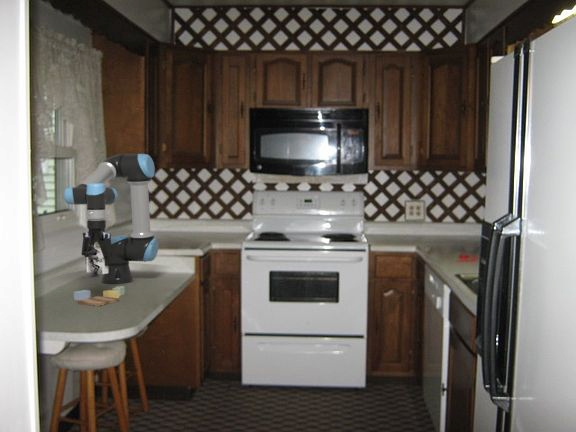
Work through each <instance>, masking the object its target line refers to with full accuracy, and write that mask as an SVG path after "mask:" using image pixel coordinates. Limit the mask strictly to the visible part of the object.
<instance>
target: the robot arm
mask: <svg viewBox="0 0 576 432" xmlns="http://www.w3.org/2000/svg"><path fill="white" fill-rule="evenodd" d="M97 165H98V166H97V168H96V169H95V170H94V171H93V172H92V173H91V174H89V175H88V176H87V177H86V178H85V179H84V180H82V181H81V182H80V183H79V184H77V186H71V187H66V188H65V190H64V193H63V198H64V201H65V203H66V204H68V205H75V206H76V205H86V217H87V218H86V219H88V220H87V221H86V224H87V225H86V227H87V229H88V231H87V232H83V233H82V247H81V255H82V256H84V257H85V265H86V273H92V271H93V270H94V269H93V268H94V267H93V266H91V265H90V262H89V261H90V260H89V258H88V253H87V252H89V251H91V248H92V247H93V246H94V247H95V244H96V243H97V244H98V245H99V248H100V252H101V254H102V257H103V259H102V262H101V264H102V266H101V267H102V268H101V269H102V272H101V273H102V275H101V276H102V277H101V282H102V283H103V284H110V285H113V284H126V283H131V282H133V279H134V278H133V274H132V272H131V268H130V262H144V263H145V262H153V261H154V260H155V259H156V258H157V255H158V251H159V241H158V238H156V237H155V236H154V233H153V232H152V231H151V221H150V220H151V219H150V198H149V197H150V196H149V184H150V182H151V181H152V179H151V178H153V177H154V176H155V171H156V170H155V169H156V168H155V162H154V161H153V159H152V157H151V156H150V155H149V154H147V153H146V154H145V153H129V154H128V153H126V154H125V153H119V154H115V155H112V156H110V157H108V158H106V159H104V160H102V161H101V162H100V163H99V164H97ZM116 178H119V179H120V178H126V183H127V184H129V185H130V186H129V187H130V202H131V203H130V205H131V221H132V222H131V223H132V233H131V234H130V236H129V235H128V234H127V235H126V234H124V235H117V236H112V234H111V233H110V232H109V233H106V230H105V229H106V228H107V225H106V224H107V223H106V222H107V221H106V217H107V216H106V205H109V206H110V205H112V204H115V203H116V202H117V201H118V197H119V195H118V191H117V190H116V189H115V188H114V187H110V186H109V187H107V186H106V185H105V184H107V182H108V181H109V182H110V181H112V180H114V179H116ZM89 245H90V246H89ZM92 245H93V246H92ZM91 246H92V247H91Z"/></svg>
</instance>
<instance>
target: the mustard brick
mask: <svg viewBox="0 0 576 432" xmlns="http://www.w3.org/2000/svg"><path fill="white" fill-rule="evenodd" d="M102 294H103V295H102V296H103V297H111V298H119V299H120V296H119V291H115V290H112V289H107V290H103V291H102Z"/></svg>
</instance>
